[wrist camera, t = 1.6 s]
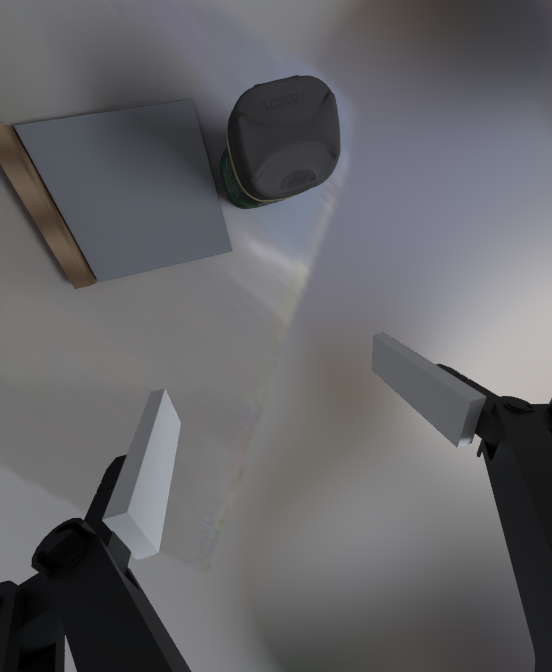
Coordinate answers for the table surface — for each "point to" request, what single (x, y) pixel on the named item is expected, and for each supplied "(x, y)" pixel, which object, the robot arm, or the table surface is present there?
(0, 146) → the walnut stop strip
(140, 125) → the rubber mat
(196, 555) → the table surface
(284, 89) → the coffee jar
